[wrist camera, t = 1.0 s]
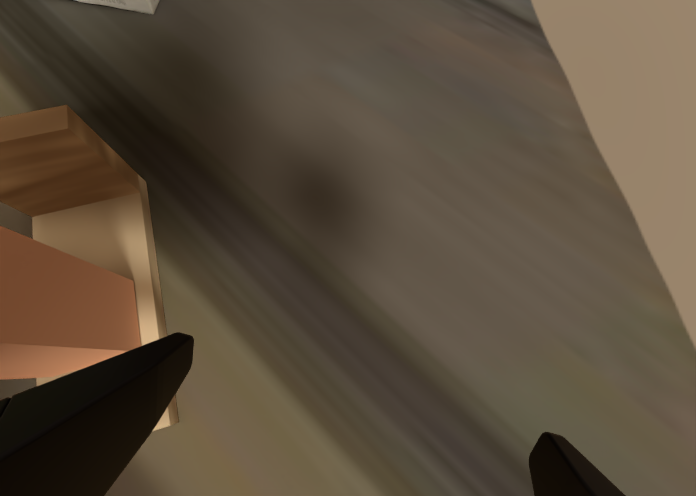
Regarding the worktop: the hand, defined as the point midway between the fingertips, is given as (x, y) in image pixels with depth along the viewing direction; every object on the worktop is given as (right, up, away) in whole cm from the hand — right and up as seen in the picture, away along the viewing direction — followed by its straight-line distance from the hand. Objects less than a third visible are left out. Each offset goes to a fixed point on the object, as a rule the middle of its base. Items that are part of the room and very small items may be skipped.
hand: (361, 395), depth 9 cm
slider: (-16, -1, +13) cm, 20 cm away
